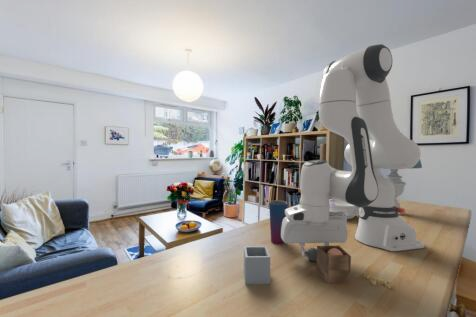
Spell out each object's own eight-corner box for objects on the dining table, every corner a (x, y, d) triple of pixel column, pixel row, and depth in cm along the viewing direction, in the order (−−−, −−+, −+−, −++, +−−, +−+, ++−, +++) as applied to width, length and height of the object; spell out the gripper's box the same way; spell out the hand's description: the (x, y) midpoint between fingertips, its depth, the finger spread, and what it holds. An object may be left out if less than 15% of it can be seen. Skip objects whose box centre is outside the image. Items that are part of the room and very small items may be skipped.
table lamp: (423, 222, 109) (426, 139, 107) (366, 214, 122) (368, 140, 120) (416, 211, 129) (419, 141, 127) (369, 205, 142) (371, 142, 140)
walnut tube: (338, 270, 65) (338, 245, 64) (350, 284, 58) (350, 256, 58) (316, 271, 64) (316, 245, 64) (325, 284, 58) (326, 256, 58)
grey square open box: (266, 271, 64) (266, 246, 64) (270, 285, 57) (270, 257, 57) (243, 272, 64) (243, 246, 63) (245, 285, 57) (245, 257, 57)
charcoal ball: (317, 257, 72) (317, 245, 72) (322, 263, 68) (322, 251, 68) (304, 257, 72) (305, 245, 72) (309, 264, 68) (309, 251, 68)
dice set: (392, 292, 56) (392, 285, 56) (370, 290, 57) (370, 282, 57) (383, 280, 61) (383, 274, 61) (363, 278, 62) (363, 272, 62)
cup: (287, 246, 81) (287, 205, 80) (268, 244, 82) (268, 204, 82) (286, 238, 88) (287, 200, 87) (269, 237, 89) (269, 199, 88)
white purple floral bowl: (365, 221, 110) (365, 205, 109) (334, 221, 110) (334, 205, 109) (350, 212, 125) (350, 198, 124) (322, 212, 125) (323, 198, 125)
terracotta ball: (337, 251, 63) (344, 247, 60) (340, 266, 61) (347, 263, 58) (323, 249, 63) (329, 245, 60) (326, 265, 61) (332, 261, 58)
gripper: (341, 209, 73) (340, 250, 74) (279, 209, 72) (279, 251, 73) (352, 214, 67) (351, 260, 67) (284, 215, 66) (284, 261, 67)
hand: (313, 255), depth 70 cm, fingers closed on charcoal ball, 4 cm apart
